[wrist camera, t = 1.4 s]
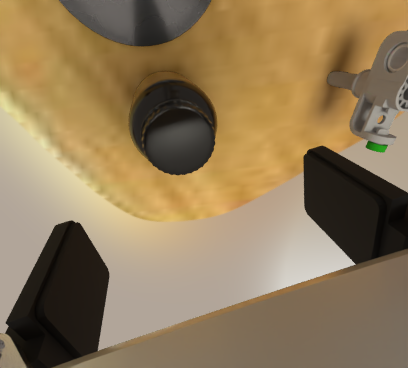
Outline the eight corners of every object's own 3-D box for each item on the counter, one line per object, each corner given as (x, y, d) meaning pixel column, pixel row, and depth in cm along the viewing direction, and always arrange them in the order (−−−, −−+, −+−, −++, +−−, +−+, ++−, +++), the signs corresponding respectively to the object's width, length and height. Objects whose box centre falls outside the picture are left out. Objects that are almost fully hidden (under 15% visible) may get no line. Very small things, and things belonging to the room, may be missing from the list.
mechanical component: (307, 121, 31) (370, 152, 22) (339, 22, 26) (435, 13, 17) (328, 123, 31) (396, 154, 23) (363, 27, 27) (466, 21, 18)
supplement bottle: (211, 110, 28) (249, 150, 17) (163, 148, 29) (173, 207, 18) (170, 53, 24) (189, 61, 14) (118, 99, 25) (99, 138, 15)
